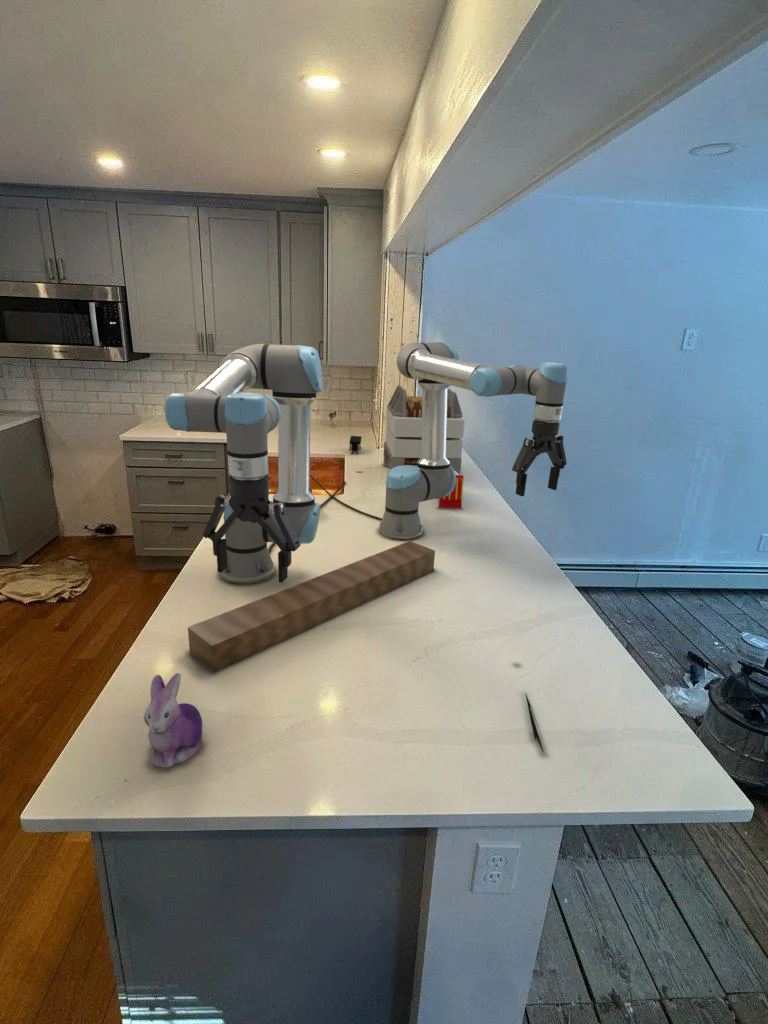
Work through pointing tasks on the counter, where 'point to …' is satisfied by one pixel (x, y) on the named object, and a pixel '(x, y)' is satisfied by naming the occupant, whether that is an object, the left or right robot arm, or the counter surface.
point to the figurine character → (355, 444)
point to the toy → (453, 495)
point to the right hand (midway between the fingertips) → (536, 491)
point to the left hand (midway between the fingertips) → (252, 575)
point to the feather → (534, 723)
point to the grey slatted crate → (419, 430)
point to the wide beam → (304, 605)
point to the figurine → (171, 724)
